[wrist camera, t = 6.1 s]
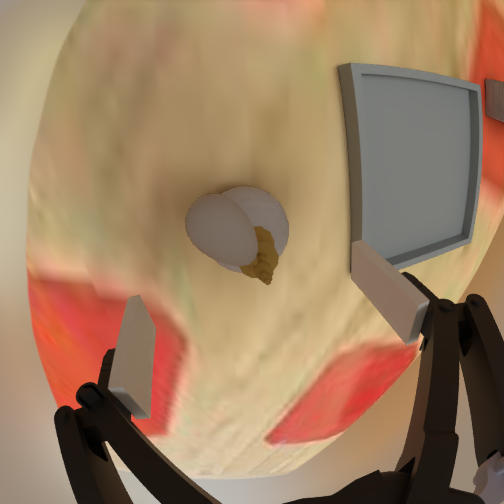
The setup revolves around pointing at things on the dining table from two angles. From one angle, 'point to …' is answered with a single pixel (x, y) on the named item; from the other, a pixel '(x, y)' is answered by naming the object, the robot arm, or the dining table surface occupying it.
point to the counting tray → (411, 160)
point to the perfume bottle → (240, 230)
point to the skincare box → (495, 99)
